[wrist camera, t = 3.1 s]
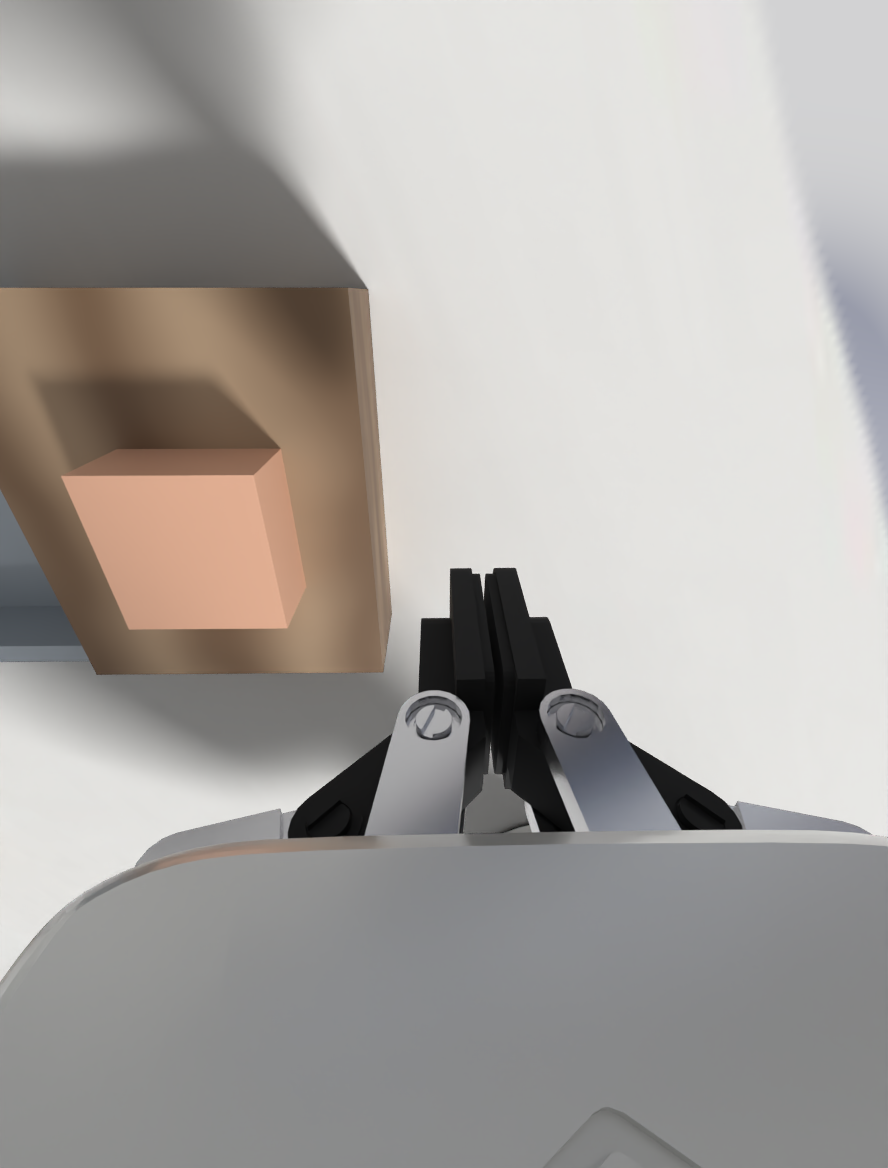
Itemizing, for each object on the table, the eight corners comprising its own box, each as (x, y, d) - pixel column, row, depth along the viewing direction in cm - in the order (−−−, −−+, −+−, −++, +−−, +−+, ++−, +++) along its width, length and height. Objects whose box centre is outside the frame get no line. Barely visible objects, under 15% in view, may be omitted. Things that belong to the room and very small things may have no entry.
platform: (368, 289, 19) (347, 287, 15) (391, 613, 27) (383, 672, 23) (18, 289, 19) (-105, 288, 14) (150, 615, 27) (96, 674, 23)
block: (281, 448, 17) (253, 475, 15) (306, 586, 20) (287, 628, 18) (116, 449, 17) (60, 475, 15) (167, 587, 20) (129, 629, 18)
